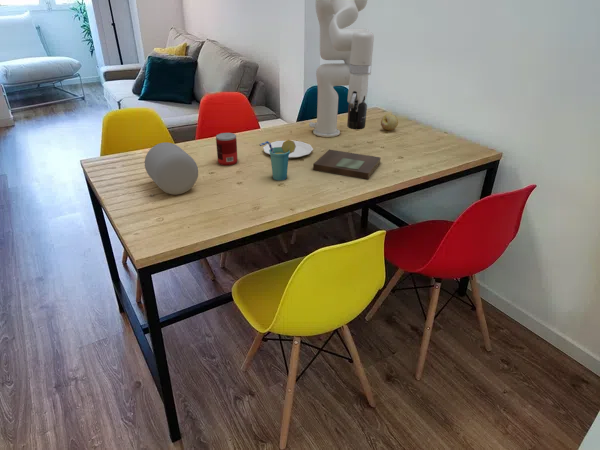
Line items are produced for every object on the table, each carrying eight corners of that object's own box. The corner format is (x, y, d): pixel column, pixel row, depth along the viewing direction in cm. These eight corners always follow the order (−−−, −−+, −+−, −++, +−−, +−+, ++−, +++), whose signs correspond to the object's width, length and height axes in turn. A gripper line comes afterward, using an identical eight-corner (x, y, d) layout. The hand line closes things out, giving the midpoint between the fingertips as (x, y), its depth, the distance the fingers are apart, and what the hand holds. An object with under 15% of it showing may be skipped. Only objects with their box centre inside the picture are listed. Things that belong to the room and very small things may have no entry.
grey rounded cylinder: (136, 190, 145) (127, 154, 163) (171, 213, 155) (158, 177, 173) (177, 150, 142) (163, 118, 160) (209, 175, 152) (193, 143, 170)
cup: (266, 185, 161) (265, 145, 153) (256, 178, 166) (254, 139, 159) (299, 177, 167) (299, 139, 160) (288, 171, 173) (288, 133, 165)
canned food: (241, 160, 182) (239, 134, 176) (230, 167, 175) (228, 140, 170) (225, 157, 184) (223, 131, 179) (214, 164, 178) (211, 137, 173)
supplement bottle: (366, 130, 166) (369, 97, 160) (347, 129, 166) (349, 97, 160) (364, 124, 172) (366, 93, 166) (346, 124, 172) (348, 92, 166)
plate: (284, 164, 178) (284, 160, 177) (253, 150, 192) (253, 147, 191) (322, 153, 190) (322, 149, 190) (291, 140, 204) (291, 137, 203)
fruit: (378, 128, 222) (379, 112, 218) (394, 128, 223) (396, 111, 219) (382, 133, 215) (384, 116, 211) (399, 132, 216) (401, 116, 212)
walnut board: (313, 169, 174) (313, 163, 173) (328, 154, 189) (329, 148, 187) (368, 179, 167) (368, 172, 165) (380, 163, 181) (380, 156, 180)
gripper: (357, 64, 167) (353, 112, 176) (342, 72, 153) (339, 124, 162) (376, 66, 165) (372, 114, 173) (363, 74, 151) (359, 126, 159)
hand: (356, 118), depth 168 cm, fingers closed on supplement bottle, 6 cm apart
